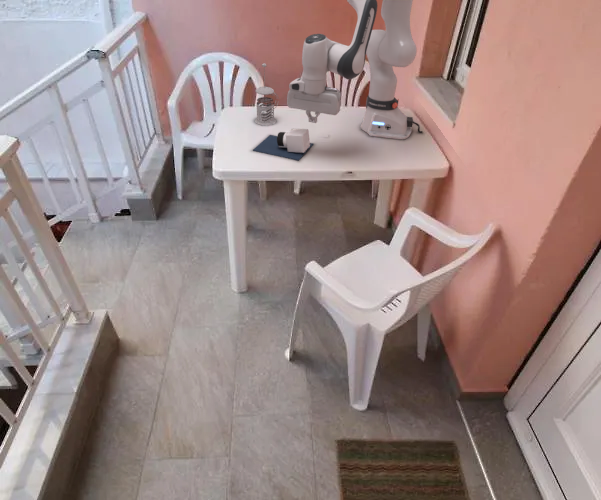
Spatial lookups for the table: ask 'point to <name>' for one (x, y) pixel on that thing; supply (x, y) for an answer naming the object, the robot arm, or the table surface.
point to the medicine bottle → (294, 140)
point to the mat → (278, 149)
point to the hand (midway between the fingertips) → (312, 122)
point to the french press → (261, 116)
